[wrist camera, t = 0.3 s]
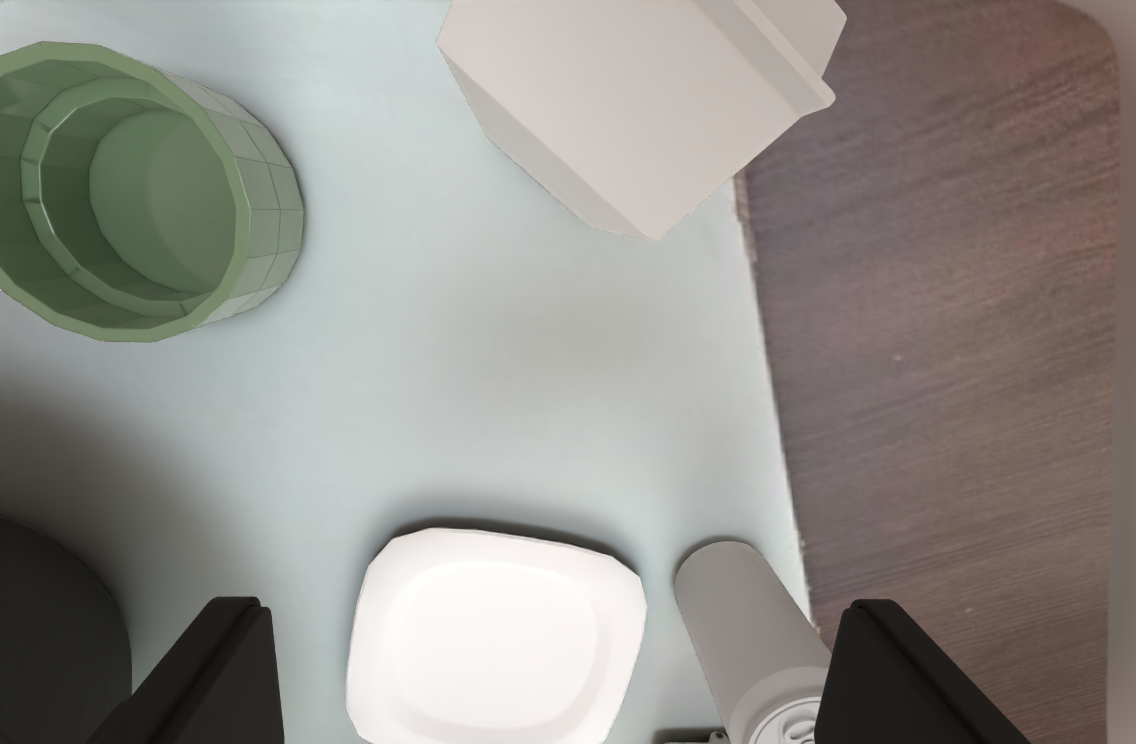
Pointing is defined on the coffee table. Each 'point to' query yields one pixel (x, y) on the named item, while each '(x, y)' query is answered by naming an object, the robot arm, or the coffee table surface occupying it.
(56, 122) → the green round dish
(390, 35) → the coffee table surface
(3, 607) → the bowl
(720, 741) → the incense holder
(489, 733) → the plate
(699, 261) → the coffee table surface
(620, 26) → the milk carton
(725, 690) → the beverage can
